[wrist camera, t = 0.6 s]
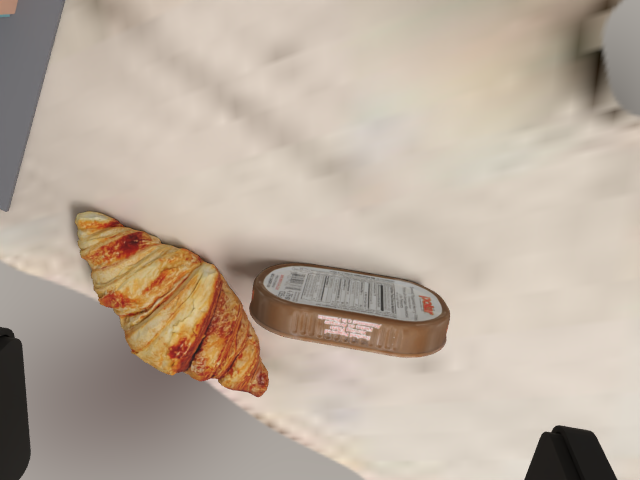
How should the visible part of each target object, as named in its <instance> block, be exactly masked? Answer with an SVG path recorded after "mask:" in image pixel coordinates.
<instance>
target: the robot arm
mask: <svg viewBox="0 0 640 480" xmlns="http://www.w3.org/2000/svg"><path fill="white" fill-rule="evenodd" d="M30 452H31V450H30V438H29V425H28V412H27V401H26V387H25V375H24V362H23V351H22V343H21V341H20V340H19V339H17V338H15V337H14V333H13V332H12V330H10V329H8V328H2V327H0V480H19V479H20V478H21V476H22V475H23V474H24V472H25V470H26V468H27V466H28V463H29V460H30V454H31V453H30ZM524 480H617V478H616V476H615V474H614V472H613V470H612V468H611V466H610V464H609V462H608V460H607V458H606V456H605V454H604V452H603V450H602V448H601V445H600V443H599V441H598V439H597V437H596V436H595V434H594V433H593V432H591V431H589V430H583V429H577V428H571V427H566V426H560V425H558V426H555V427H554V428H553V430H552V432H544V433H543V434H542V435H541V437H540V440H539V442H538V445H537V448H536V450H535V453H534V456H533V458H532V461H531V464H530V466H529V469H528V472H527V474H526V477H525V479H524Z"/></svg>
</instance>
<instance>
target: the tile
mask: <svg viewBox="0 0 640 480" xmlns="http://www.w3.org/2000/svg"><path fill="white" fill-rule="evenodd" d="M17 2H18V0H0V17H10V14H15V11H16V7H17Z"/></svg>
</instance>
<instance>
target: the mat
mask: <svg viewBox="0 0 640 480" xmlns="http://www.w3.org/2000/svg"><path fill="white" fill-rule="evenodd" d="M64 3H65V0H18V2H17V7H16V11H15V14H10V17H0V209H1V210H3V211H5V212H7V211H9V207H10V204H11V200H12V196H13V192H14V189H15V185H16V181H17V178H18V174H19V170H20V166H21V163H22V159H23V155H24V151H25V148H26V144H27V140H28V137H29V133H30V129H31V125H32V122H33V118H34V114H35V111H36V107H37V103H38V99H39V96H40V92H41V88H42V84H43V81H44V77H45V73H46V70H47V66H48V62H49V58H50V55H51V51H52V47H53V43H54V40H55V36H56V32H57V29H58V25H59V21H60V17H61V14H62V10H63V6H64Z"/></svg>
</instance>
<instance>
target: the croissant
mask: <svg viewBox="0 0 640 480" xmlns="http://www.w3.org/2000/svg"><path fill="white" fill-rule="evenodd" d="M75 224H76V225H77V227H78V232H77V235H78V238H79V241H78V246H79V248H80V249H81V250H80V255H81V258H83V259H85V260H86V261H87V262H88V263H89V265H90V267H91V269H92V272H91V278H92V279H93V284H94V291H95V292H96V293H97V294H98V297H99V299H98V301H99V302H100V304H101V305H104V306H106V307H110V308H113V309H114V312H115V313H116V314H117V315H119V316H120V322H121V327H122V328H123V329H124V331H125V338H126V341H127V343H128V344H129V346H130V348H131V349H132V353H133V354H135V355H137V356H138V357H140V358H141V359H142V360H143V361H144V362H146V363H148V364H150V365H152V366H153V367H154V368H156V369H158V370H159V371H161V372H164V373H166V374H170V375H174V374H175V373H179V372H185V373H186V374H189V375H190V376H191V377H192V378H194V379H196V380H198V381H205V380H208V379H210V378H216V379H218V382H219V383H220V384H221V385H222V386H224V387H226V388H228V389H231V390H237V391H243V392H248V393H251V394H252V395H254V396H256V397H261V396H262V395H263V393H264V392H265V391H266V390H267V387H268V382H269V379H268V371H267V370H266V368H265V366H264V365H263V363H262V361H261V360H262V359H261V358H260V356H259V355H260V347H259V339H258V337H257V335H256V334H255V331H254V328H253V327H252V325H251V323H250V322H249V320H248V318H247V315H246V313H245V311H244V310H243V305H242V303H241V302H240V300H239V298H238V297H237V296H236V295H235V294H234V292H233V291H232V290H231V289H230V288H229V286H228V284H227V283H226V281H225V279H224V277H223V276H222V274H220V272H219V271H218V269H217V268H216V267H215V266H214V265H213V264H209V263H206V262H204V261H203V260H202V259H201V258H200V257H199V256H198V255H197V254H195V253H193V252H191V251H189V250H188V249H183V248H181V249H179V248H176V247H174V246H170V245H169V244H168V245H166V244H162V243H161V241H160V239H159V238H157V237H155V236H152V235H149V234H148V233H146V232H144V231H137V230H133V229H131V228H127V227H124V226H123V225H122V224H120V222H119V221H118V220H116V219H113V218H111V217H108V216H106V215H104V214H101V213H98V212H92V211H87V212H83V213H78V215H77V216H76V219H75Z"/></svg>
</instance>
